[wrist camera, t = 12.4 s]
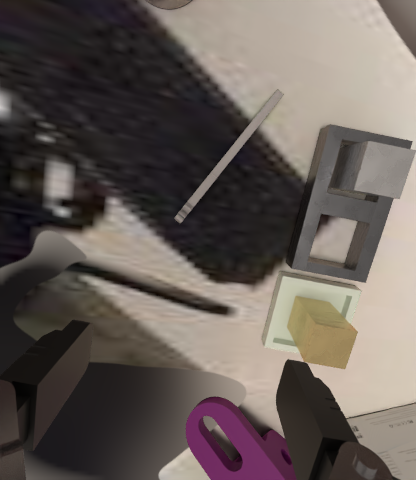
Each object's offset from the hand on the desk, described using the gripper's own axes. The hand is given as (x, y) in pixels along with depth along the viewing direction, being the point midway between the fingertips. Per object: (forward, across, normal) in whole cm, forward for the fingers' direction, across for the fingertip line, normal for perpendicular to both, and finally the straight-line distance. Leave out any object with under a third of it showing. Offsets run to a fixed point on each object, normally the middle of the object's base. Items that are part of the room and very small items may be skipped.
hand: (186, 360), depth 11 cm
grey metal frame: (+28, -17, -7) cm, 34 cm away
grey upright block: (+28, -17, -12) cm, 35 cm away
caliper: (+29, -1, -10) cm, 30 cm away
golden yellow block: (+28, -17, +9) cm, 34 cm away
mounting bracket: (+29, -12, +32) cm, 45 cm away
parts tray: (+28, -17, +9) cm, 34 cm away
